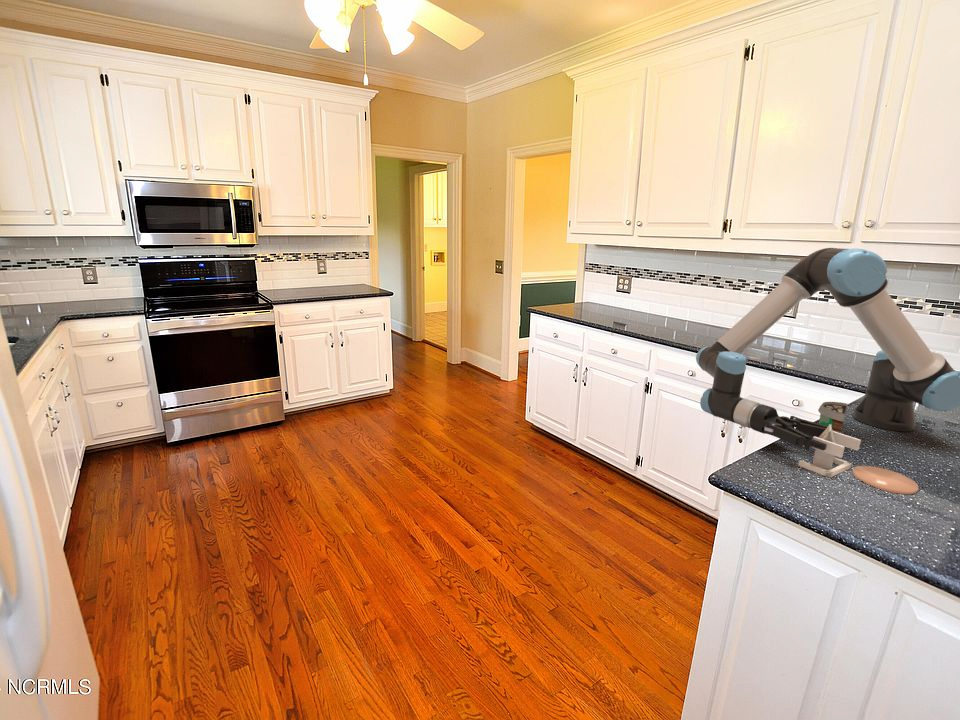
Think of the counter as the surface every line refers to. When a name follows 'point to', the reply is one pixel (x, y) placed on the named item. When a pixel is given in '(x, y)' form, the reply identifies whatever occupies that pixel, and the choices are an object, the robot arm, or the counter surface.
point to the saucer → (885, 480)
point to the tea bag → (821, 457)
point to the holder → (828, 473)
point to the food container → (832, 415)
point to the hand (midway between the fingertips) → (850, 448)
